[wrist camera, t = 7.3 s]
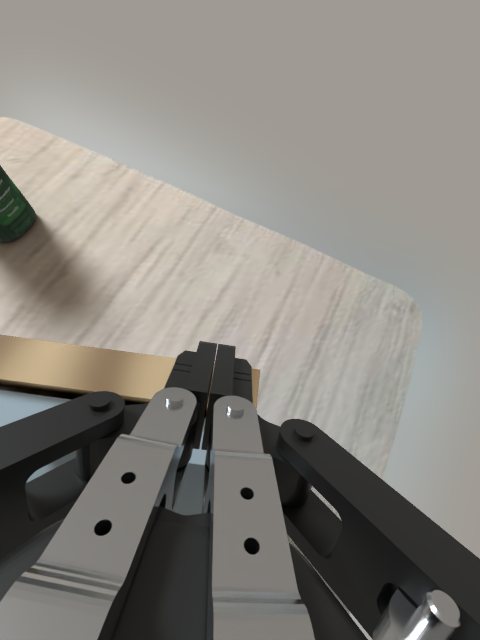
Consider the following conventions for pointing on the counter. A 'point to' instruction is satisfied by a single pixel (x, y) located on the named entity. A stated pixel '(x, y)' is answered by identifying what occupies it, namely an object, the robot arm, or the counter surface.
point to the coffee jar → (13, 210)
